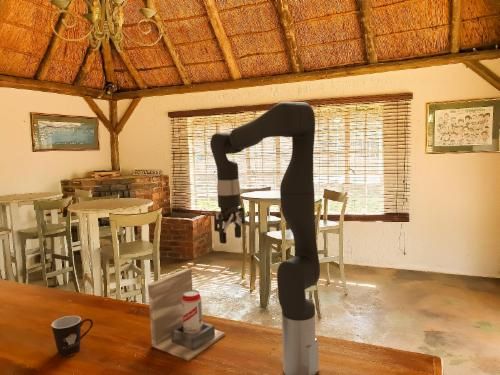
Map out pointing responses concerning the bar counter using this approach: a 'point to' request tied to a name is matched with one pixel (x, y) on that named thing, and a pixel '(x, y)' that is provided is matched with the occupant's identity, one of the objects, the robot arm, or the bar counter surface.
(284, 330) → the robot arm
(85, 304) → the bar counter surface
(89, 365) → the bar counter surface
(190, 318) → the beer can
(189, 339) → the can rack
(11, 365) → the bar counter surface
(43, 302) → the bar counter surface
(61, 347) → the coffee mug
